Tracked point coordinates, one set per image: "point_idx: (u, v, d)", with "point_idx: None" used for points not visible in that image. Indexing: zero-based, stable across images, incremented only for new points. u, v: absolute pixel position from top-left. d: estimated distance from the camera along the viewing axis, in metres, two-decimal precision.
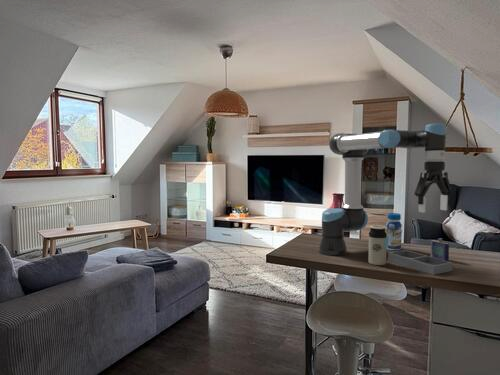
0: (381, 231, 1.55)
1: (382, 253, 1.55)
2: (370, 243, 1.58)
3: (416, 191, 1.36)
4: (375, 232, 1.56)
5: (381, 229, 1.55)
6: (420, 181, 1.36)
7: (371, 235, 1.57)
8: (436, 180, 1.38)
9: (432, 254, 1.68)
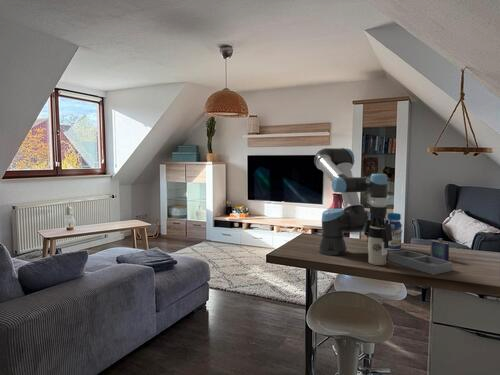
0: None
1: None
2: (370, 243, 1.58)
3: None
4: (375, 232, 1.56)
5: None
6: None
7: (371, 235, 1.57)
8: (376, 222, 1.58)
9: (432, 254, 1.68)
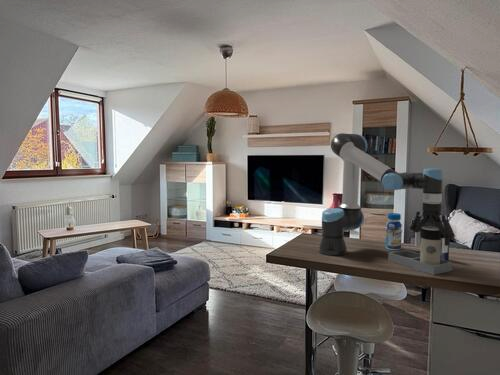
0: (436, 232, 1.46)
1: (436, 256, 1.46)
2: (423, 245, 1.49)
3: None
4: (429, 234, 1.47)
5: (436, 230, 1.46)
6: None
7: (424, 237, 1.48)
8: (429, 220, 1.49)
9: None
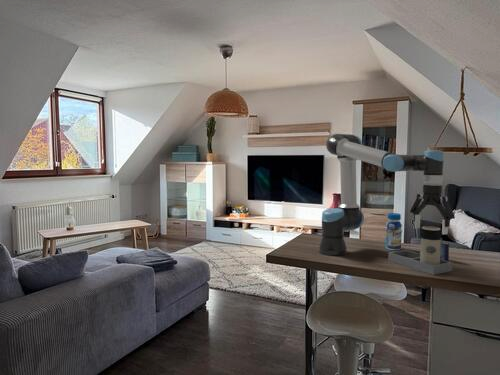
0: (436, 232, 1.46)
1: (436, 256, 1.46)
2: (423, 245, 1.49)
3: None
4: (429, 234, 1.47)
5: (435, 230, 1.46)
6: None
7: (424, 237, 1.48)
8: (430, 202, 1.48)
9: None
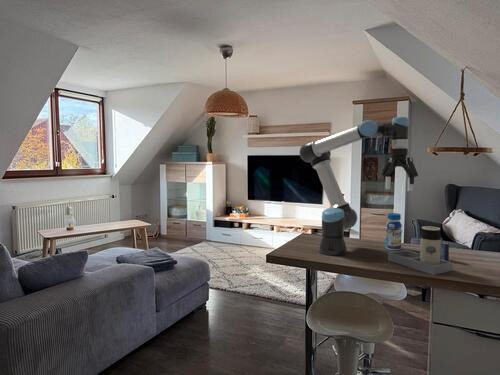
0: (436, 232, 1.46)
1: (436, 256, 1.46)
2: (423, 245, 1.49)
3: None
4: (429, 234, 1.47)
5: (435, 230, 1.46)
6: None
7: (424, 237, 1.48)
8: (397, 164, 1.67)
9: None
